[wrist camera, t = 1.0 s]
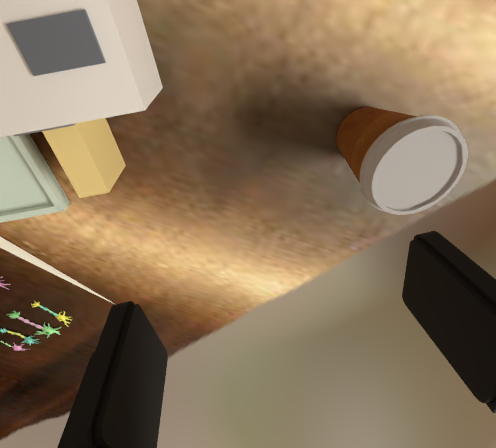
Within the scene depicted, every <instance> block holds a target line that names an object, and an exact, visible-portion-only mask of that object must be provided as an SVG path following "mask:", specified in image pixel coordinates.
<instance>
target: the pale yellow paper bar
mask: <svg viewBox="0 0 496 448" xmlns="http://www.w3.org/2000/svg"><path fill="white" fill-rule="evenodd" d="M42 132H43V134H44V136H45V138H46V139H47V141H48V143H49V145H50V146H51V148H52V150H53V152H54V153H55V155H56V157H57V159H58V161H59V162H60V164H61V166H62V168H63V169H64V171H65V173H66V175H67V176H68V178H69V180H70V182H71V184H72V185H73V187H74V189H75V191H76V192H77V194H78V196H79V198H82V197H87V196H93V195H98V194H104V193H109V192H110V190H111V188H112V187H113V185H114V183H115V182H116V180H117V179H118V177H119V175H120V174H121V172H122V170H123V169H124V167H125V166H126V165H125V163H124V161H123V158H122V156H121V154H120V151H119V149H118V146H117V144H116V142H115V139H114V137H113V135H112V132H111V130H110V128H109V125H108V123H107V121H106V118H101V119H96V120H91V121H85V122H80V123H76V124H75V125H74V126H68V127H63V128H58V129H52V130H47V131H42Z"/></svg>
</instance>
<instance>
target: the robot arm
mask: <svg viewBox="0 0 496 448" xmlns="http://www.w3.org/2000/svg"><path fill="white" fill-rule="evenodd" d="M402 297H403V301H404V303H405V305H406V306H407V307H408V309H409V310H410V311H411V313H412V314H413V315H414V317H415V318H416V319H417V321H418V322H419V323H420V325H421V326H422V327H423V329H424V330H425V331H426V333H427V334H428V335H429V337H430V338H431V339H432V341H434V343H435V344H436V346H437V347H438V348H439V350H440V351H441V352H442V354H443V355H444V356H445V358H446V359H447V360H448V362H449V363H450V364H451V366H452V367H453V368H454V370H455V371H456V372H457V373H458V375H459V376H460V377H461V379H462V380H463V381H464V383H465V384H466V385H467V387H468V388H469V389H470V391H471V392H472V393H473V395H474V396H475V397H476V398H477V399H478V400H479V401H480V402H482V403H486V404H487V405H488V407H489V408H490V409H491V411H492V412H493V413H496V279H494V278H493V277H492V276H491V275H489V274H488V273H487V272H486V271H485V270H483V269H482V268H481V267H480V266H478V265H477V264H476V263H475V262H474V261H472V260H471V259H470V258H469V257H467V256H466V255H465V254H464V253H463V252H461V251H460V250H459V249H457V247H455V246H454V245H453V244H452V243H450V242H449V241H448V240H447V239H446V238H444V237H443V236H442V235H440V234H439V233H438V232H436V231H431V232H428V233H423V234H419V235H416V236H415V237H414V240H412V241H411V242H410V246H409V252H408V259H407V266H406V273H405V280H404V287H403V294H402ZM167 359H168V358H167V351H166V349H165V347H164V345H163V344H162V342H161V340H160V339H159V337H158V335H157V334H156V332H155V330H154V329H153V327H152V325H151V324H150V322H149V320H148V319H147V317H146V315H145V314H144V312H143V310H142V309H141V307H140V306H139V305H138V304H134V303H133V302H132V301H129V302H125V303H120V304H116V305H113V306H112V308H111V310H110V312H109V315H108V318H107V321H106V323H105V326H104V329H103V332H102V335H101V337H100V340H99V343H98V346H97V348H96V351H95V352H94V353H93V354H92V356H91V358H90V361H89V363H88V366H87V369H86V372H85V374H84V377H83V380H82V382H81V385H80V388H79V391H78V393H77V396H76V399H75V401H74V404H73V407H72V410H71V412H70V415H69V418H68V421H67V423H66V426H65V429H64V432H63V434H62V437H61V439H60V442H59V445H58V448H157V441H158V433H159V425H160V416H161V408H162V400H163V392H164V384H165V375H166V367H167Z"/></svg>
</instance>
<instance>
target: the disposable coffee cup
mask: <svg viewBox="0 0 496 448" xmlns="http://www.w3.org/2000/svg"><path fill="white" fill-rule="evenodd" d="M336 141H337V146H338V148H339V150H340V152H341V153H342V155H343V157H344V158H345V160H346V161H347V163H348V164H349V166H350V168H351V169H352V171H353V173H354V174H355V176H356V178H357V179H358V181H359V183H360V186H361V191H362V194H363V196H364V198H365V199H366V200H367V202H368V203H369V204H370V205H372V206H373V207H374V208H376V209H379V210H381V211H385V212H389V213H392V214H397V215H405V214H412V213H416V212H419V211H422V210H424V209H427V208H429V207H431V206H432V205H434V204H435V203H437V202H438V201H440V200H441V199H442V198H444V197H445V196H446V195H447V194H448V193H449V192H450V190H451V189H452V188H453V187H454V186H455V185H456V184H457V182H458V181H459V179H460V178H461V176H462V174H463V172H464V169H465V166H466V162H467V158H468V149H467V144H466V142H465V140H464V138H463V137H462V136H461V133H460V131H459V129H458V128H457V126H456V125H455V124H453V123H452V122H451V121H450V120H448V119H446V118H443V117H440V116H434V115H425V116H418V117H417V116H412V115H407V114H402V113H397V112H392V111H387V110H382V109H377V108H373V107H363V108H359V109H357V110H355V111H353V112H352V113H350V114H349V115H348V116H347V117H346V118H345V119H344V120H343V122H342V123H341V125H340V127H339V129H338V132H337V139H336Z"/></svg>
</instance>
